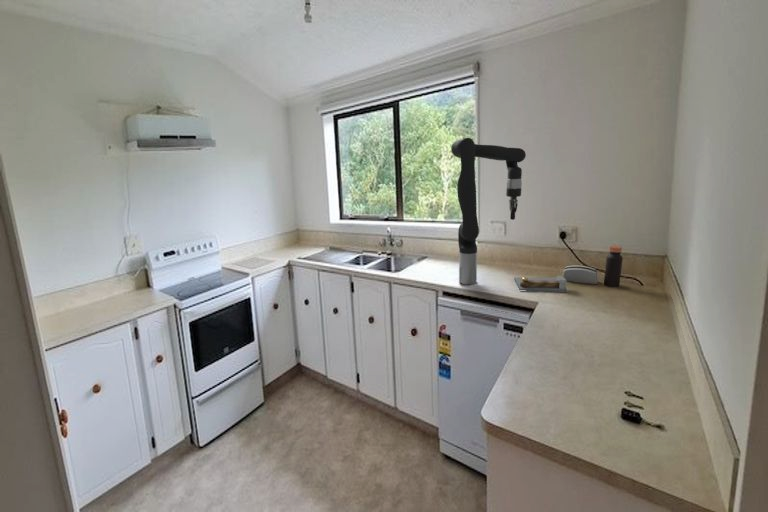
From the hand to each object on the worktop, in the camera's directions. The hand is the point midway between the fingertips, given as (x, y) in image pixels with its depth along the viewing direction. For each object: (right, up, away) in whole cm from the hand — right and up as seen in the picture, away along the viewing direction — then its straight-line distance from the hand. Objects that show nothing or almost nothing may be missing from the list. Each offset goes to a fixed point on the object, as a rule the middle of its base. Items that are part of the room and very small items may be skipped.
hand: (512, 219), depth 201 cm
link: (+9, -35, -15) cm, 40 cm away
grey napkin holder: (+33, -34, -7) cm, 48 cm away
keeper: (+18, -36, -17) cm, 43 cm away
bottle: (+45, -35, -15) cm, 59 cm away
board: (+10, -35, -10) cm, 38 cm away
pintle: (+1, -33, -14) cm, 36 cm away
